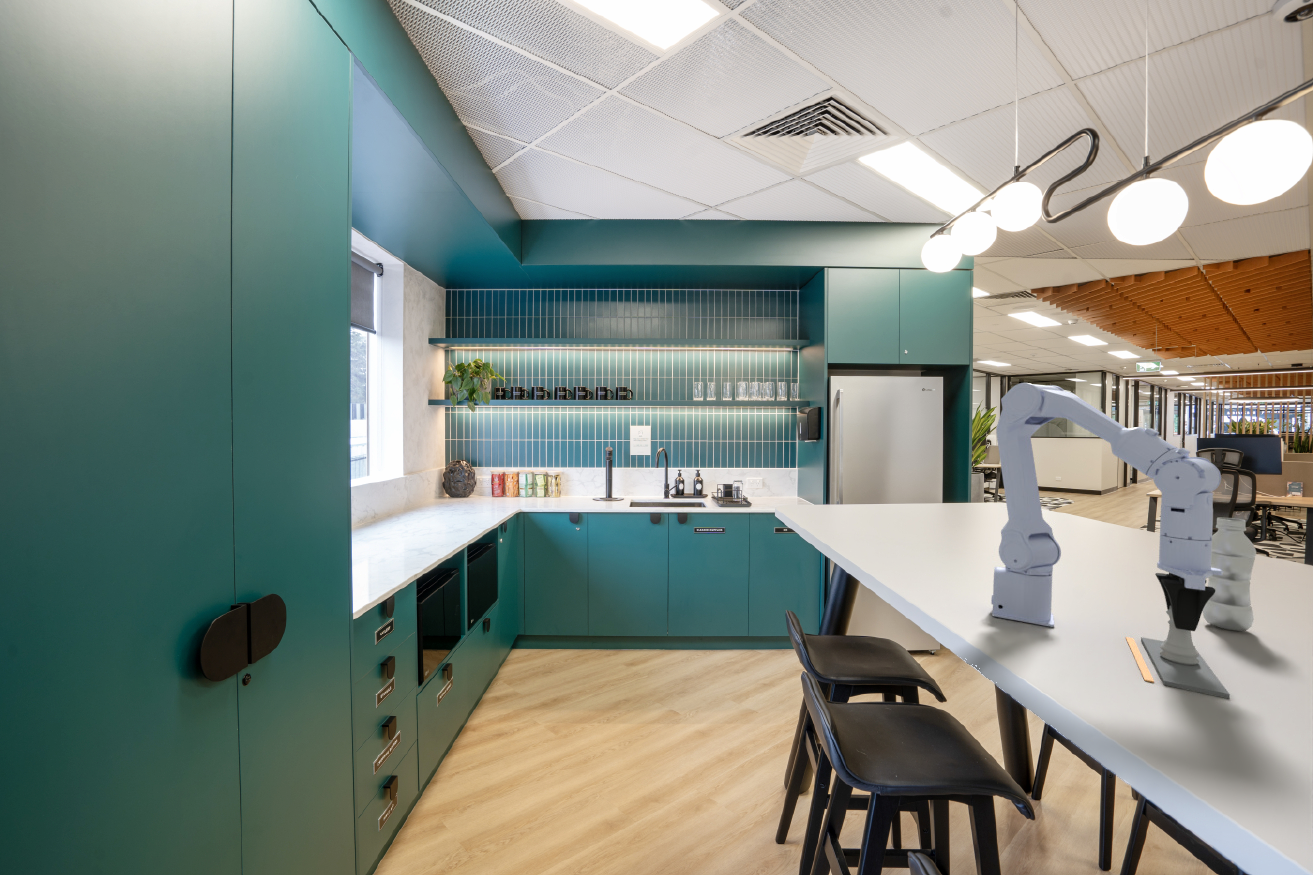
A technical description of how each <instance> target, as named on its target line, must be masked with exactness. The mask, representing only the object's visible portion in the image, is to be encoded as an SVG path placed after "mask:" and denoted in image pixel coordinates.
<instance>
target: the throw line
mask: <svg viewBox="0 0 1313 875" xmlns="http://www.w3.org/2000/svg"><path fill="white" fill-rule="evenodd" d="M1125 640H1126V641H1127V642H1126V643H1127V644H1128V647H1129V649H1130V651H1131V654H1132V656H1133V658H1134V660H1135V663H1136V665H1137V667H1138V669H1139V671H1140V673H1141V674H1140V675H1141V676H1142V678H1143V680H1144V681H1145V682H1148V683H1155V680H1154V678H1153V676H1152V673H1151V671H1150V670H1149V667H1148V666H1147V664H1146V662H1145V660H1144V658H1143V657H1144V656H1143V655H1142V653H1141V651H1140V648H1139V647H1138V645H1137V643H1136V640H1135V639H1134V638H1133V637H1128V636H1125Z"/></svg>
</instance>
